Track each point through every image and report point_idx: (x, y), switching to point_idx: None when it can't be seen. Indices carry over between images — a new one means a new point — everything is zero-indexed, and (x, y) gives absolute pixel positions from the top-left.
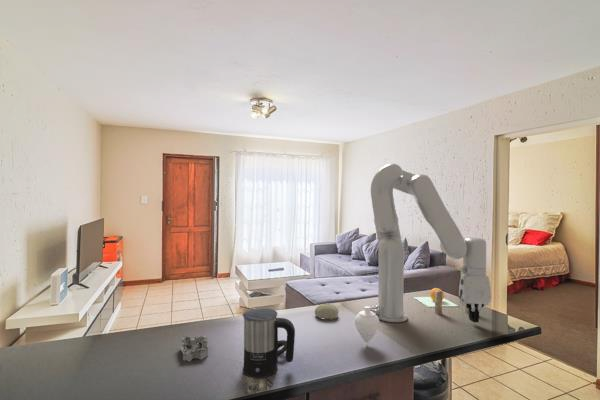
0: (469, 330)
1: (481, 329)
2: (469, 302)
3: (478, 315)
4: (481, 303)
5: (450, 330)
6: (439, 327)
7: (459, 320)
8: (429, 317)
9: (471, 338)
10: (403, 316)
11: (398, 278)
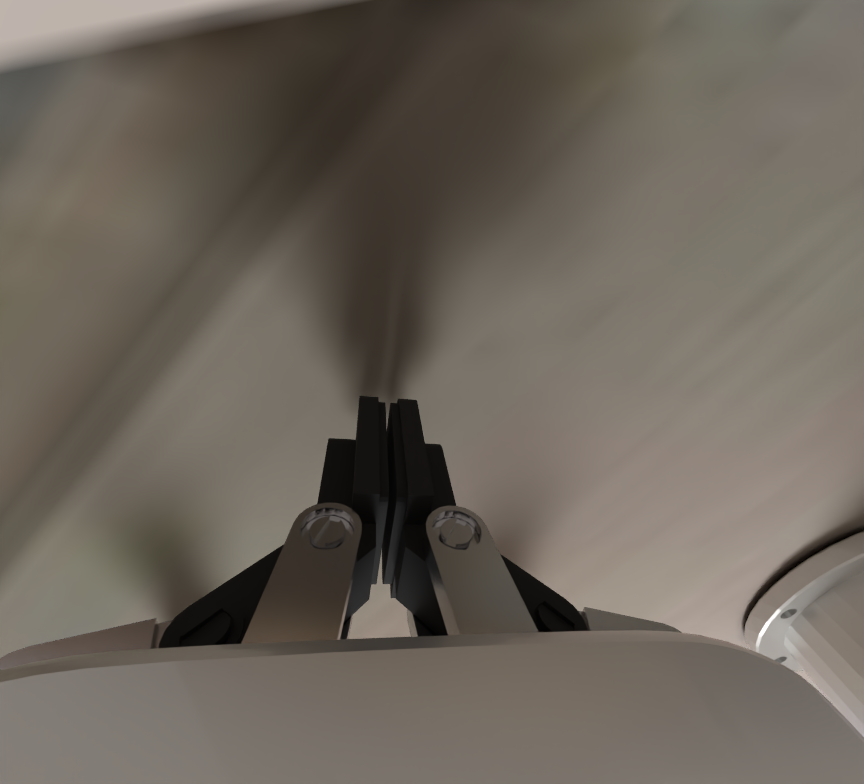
0: (557, 293)
1: (390, 292)
2: (745, 666)
3: (363, 448)
4: (318, 647)
5: (739, 331)
6: (754, 408)
7: None
8: (619, 578)
9: (777, 45)
10: (850, 575)
11: None
